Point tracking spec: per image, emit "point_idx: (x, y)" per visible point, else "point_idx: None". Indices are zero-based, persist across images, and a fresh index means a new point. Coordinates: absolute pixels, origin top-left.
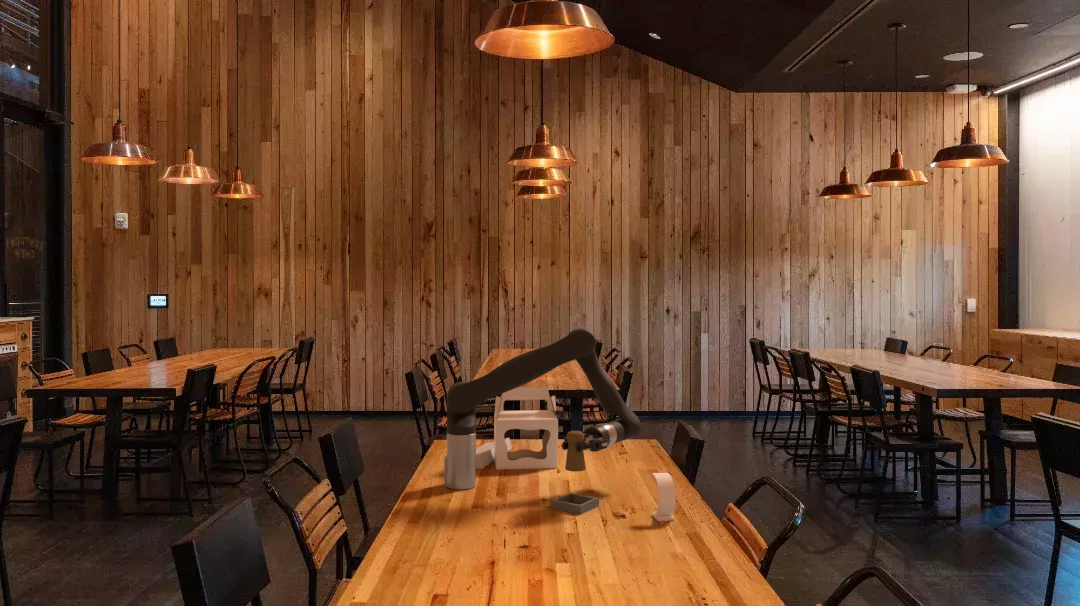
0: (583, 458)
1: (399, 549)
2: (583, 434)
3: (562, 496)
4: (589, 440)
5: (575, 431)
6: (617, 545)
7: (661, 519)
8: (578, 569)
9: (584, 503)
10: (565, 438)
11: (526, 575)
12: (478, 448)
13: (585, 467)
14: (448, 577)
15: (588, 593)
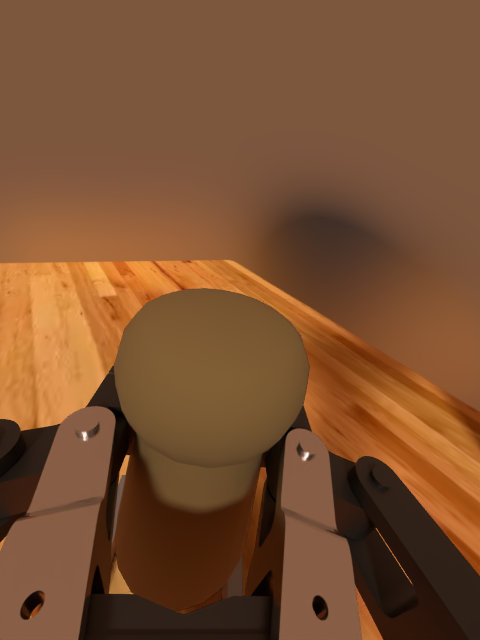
0: (125, 480)
1: (273, 295)
2: (122, 347)
3: (237, 567)
4: (37, 508)
5: (219, 304)
6: (13, 344)
7: None
8: (85, 288)
9: (115, 517)
10: (370, 462)
11: (139, 278)
12: None
13: (117, 551)
14: (199, 273)
15: (69, 265)
